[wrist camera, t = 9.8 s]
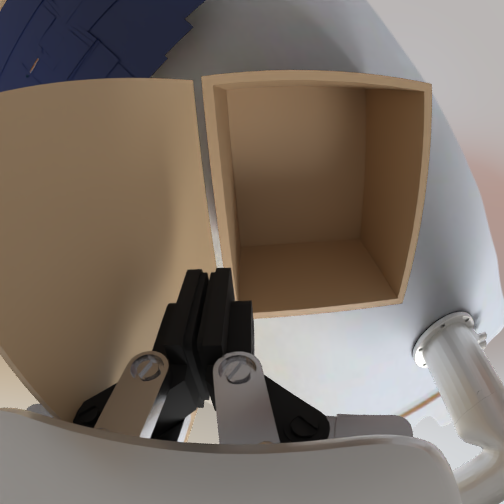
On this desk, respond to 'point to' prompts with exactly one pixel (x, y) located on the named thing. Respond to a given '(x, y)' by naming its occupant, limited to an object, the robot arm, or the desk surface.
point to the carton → (317, 185)
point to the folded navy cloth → (87, 39)
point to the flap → (95, 228)
